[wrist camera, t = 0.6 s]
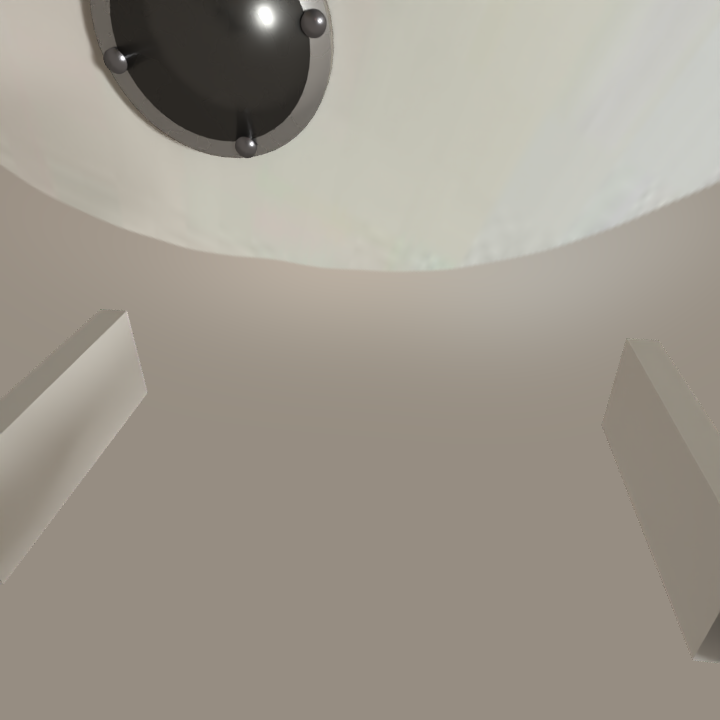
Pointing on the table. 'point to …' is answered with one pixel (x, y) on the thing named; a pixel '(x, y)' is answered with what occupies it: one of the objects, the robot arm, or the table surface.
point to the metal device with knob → (220, 67)
